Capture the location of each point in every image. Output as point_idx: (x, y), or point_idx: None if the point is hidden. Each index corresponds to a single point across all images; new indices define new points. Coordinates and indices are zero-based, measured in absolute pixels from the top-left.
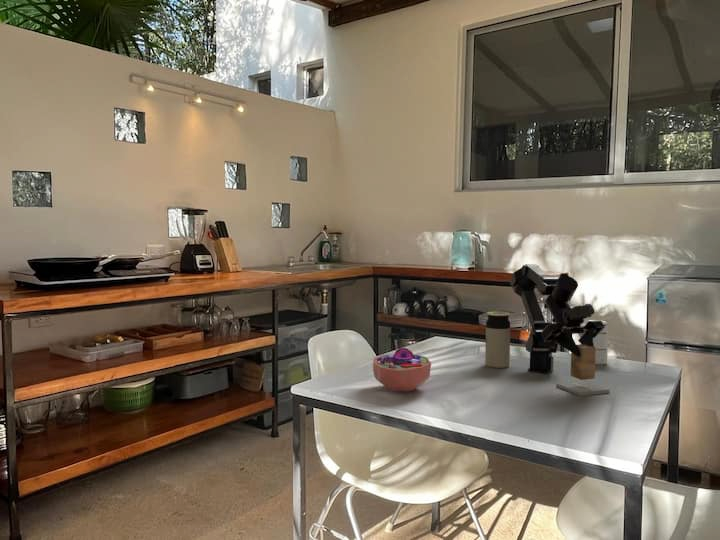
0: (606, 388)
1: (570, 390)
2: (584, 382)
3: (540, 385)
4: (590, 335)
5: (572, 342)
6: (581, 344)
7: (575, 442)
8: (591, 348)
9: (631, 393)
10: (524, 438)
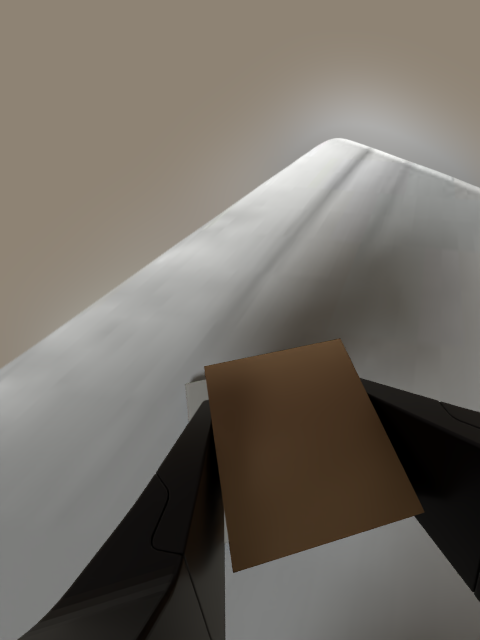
0: (189, 394)
1: None
2: None
3: (416, 540)
4: (104, 607)
5: (461, 412)
6: (282, 545)
7: (388, 170)
8: (249, 359)
9: (122, 373)
10: (458, 183)
